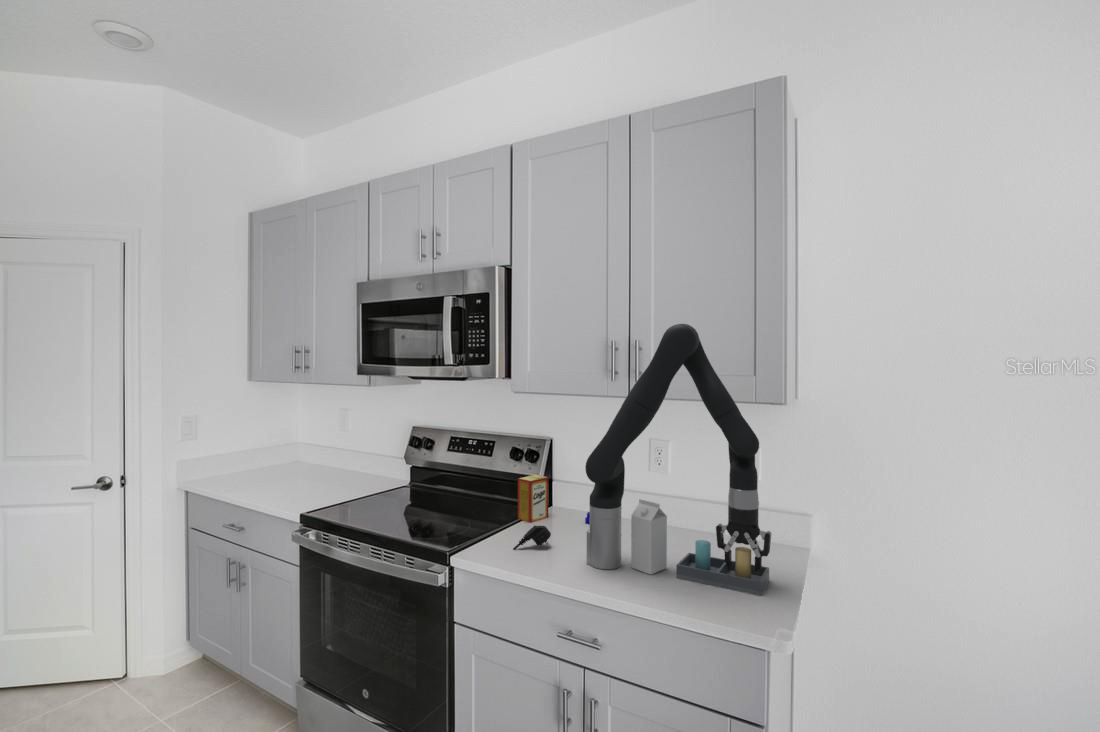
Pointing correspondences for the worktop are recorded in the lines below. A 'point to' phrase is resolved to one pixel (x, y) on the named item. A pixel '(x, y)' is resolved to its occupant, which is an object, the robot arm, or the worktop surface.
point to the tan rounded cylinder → (743, 562)
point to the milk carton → (648, 538)
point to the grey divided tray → (723, 575)
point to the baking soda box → (532, 498)
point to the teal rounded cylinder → (702, 554)
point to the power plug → (536, 536)
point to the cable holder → (587, 518)
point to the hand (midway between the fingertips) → (742, 567)
